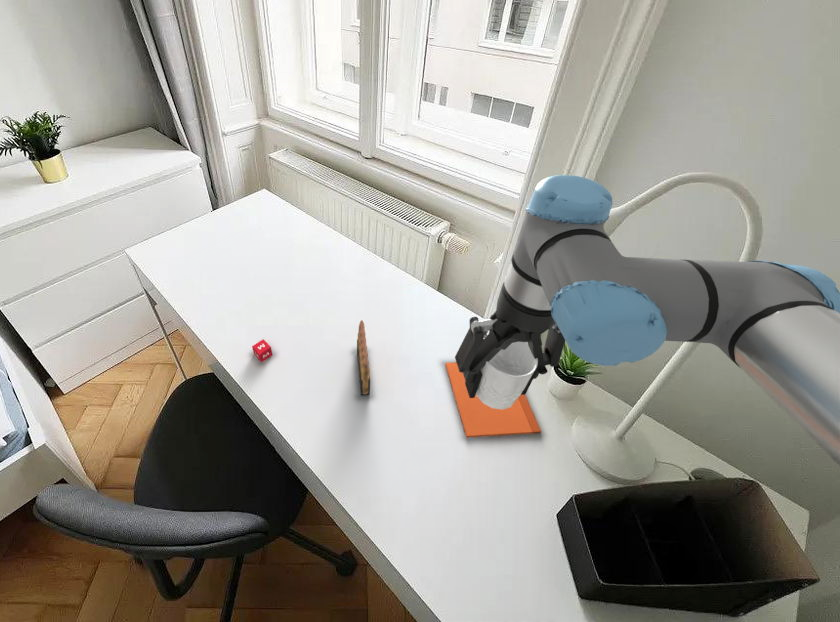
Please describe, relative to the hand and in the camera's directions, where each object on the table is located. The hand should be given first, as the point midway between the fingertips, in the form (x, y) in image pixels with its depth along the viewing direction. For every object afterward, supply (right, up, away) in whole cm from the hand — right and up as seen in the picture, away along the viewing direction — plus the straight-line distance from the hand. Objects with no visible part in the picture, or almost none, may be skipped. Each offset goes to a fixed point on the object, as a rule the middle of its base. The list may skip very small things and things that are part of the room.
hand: (494, 388), depth 66 cm
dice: (-43, -1, +25) cm, 49 cm away
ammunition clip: (-20, -4, +21) cm, 29 cm away
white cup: (0, 0, 0) cm, 1 cm away
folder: (+5, -7, +16) cm, 18 cm away
